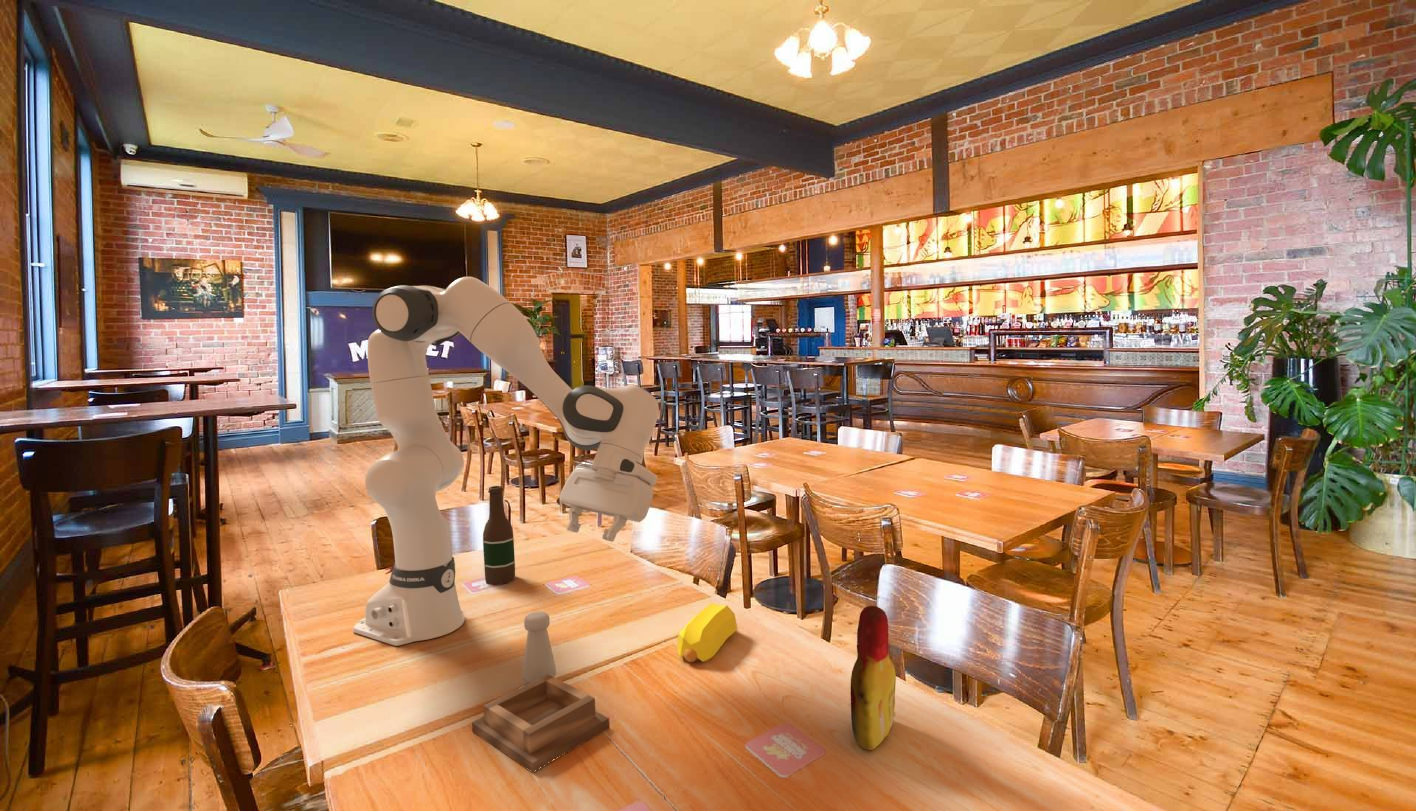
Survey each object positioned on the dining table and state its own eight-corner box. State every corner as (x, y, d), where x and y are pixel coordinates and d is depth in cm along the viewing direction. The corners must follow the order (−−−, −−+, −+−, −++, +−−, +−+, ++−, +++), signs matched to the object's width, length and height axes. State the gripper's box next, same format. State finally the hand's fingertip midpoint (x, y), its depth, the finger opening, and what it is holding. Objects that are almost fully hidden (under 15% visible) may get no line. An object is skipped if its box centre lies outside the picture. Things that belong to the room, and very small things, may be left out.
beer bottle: (493, 573, 173) (488, 483, 171) (521, 574, 172) (516, 483, 170) (478, 584, 166) (473, 490, 163) (508, 585, 165) (503, 490, 162)
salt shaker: (548, 696, 113) (544, 622, 112) (516, 693, 114) (513, 620, 113) (562, 678, 119) (558, 608, 118) (532, 676, 120) (528, 606, 119)
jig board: (472, 731, 103) (470, 703, 103) (547, 693, 114) (545, 668, 114) (533, 772, 93) (531, 742, 93) (609, 727, 104) (608, 699, 103)
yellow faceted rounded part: (669, 663, 124) (707, 670, 121) (668, 628, 123) (706, 635, 120) (708, 624, 140) (742, 630, 137) (707, 593, 140) (742, 599, 137)
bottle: (883, 763, 94) (884, 626, 92) (839, 750, 96) (839, 618, 94) (901, 719, 104) (902, 595, 102) (860, 709, 107) (861, 589, 105)
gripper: (568, 454, 132) (540, 521, 127) (645, 466, 120) (618, 540, 115) (588, 466, 136) (563, 531, 132) (665, 479, 124) (639, 550, 120)
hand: (589, 535), depth 123 cm, fingers open, 8 cm apart
